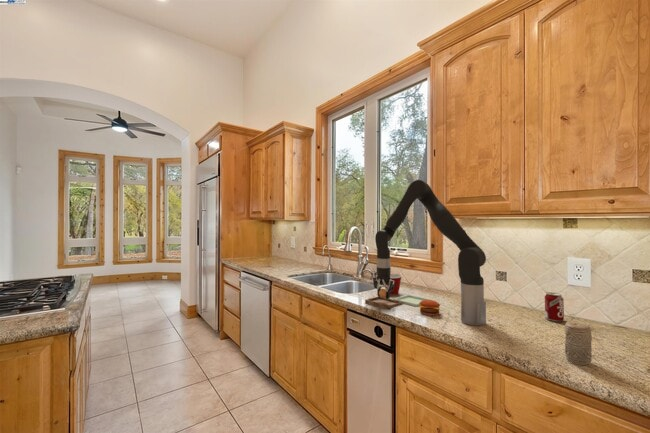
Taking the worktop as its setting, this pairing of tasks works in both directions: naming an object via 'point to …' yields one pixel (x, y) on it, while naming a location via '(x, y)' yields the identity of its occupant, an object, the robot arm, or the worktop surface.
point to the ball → (382, 293)
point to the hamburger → (429, 307)
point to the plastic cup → (397, 283)
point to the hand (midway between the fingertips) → (383, 297)
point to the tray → (383, 302)
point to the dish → (411, 300)
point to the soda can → (554, 307)
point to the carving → (578, 343)
